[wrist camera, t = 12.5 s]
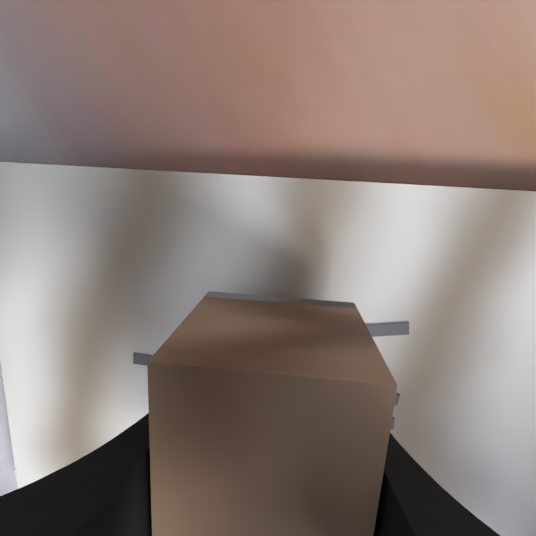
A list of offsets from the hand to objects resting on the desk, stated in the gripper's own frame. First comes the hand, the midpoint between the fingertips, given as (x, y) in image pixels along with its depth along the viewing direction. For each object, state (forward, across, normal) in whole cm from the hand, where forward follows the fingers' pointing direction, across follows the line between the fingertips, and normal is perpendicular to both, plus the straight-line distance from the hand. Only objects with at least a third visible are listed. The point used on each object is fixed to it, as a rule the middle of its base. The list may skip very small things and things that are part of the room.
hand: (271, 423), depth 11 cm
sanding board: (+4, 0, 0) cm, 4 cm away
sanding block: (+1, 0, 0) cm, 1 cm away
